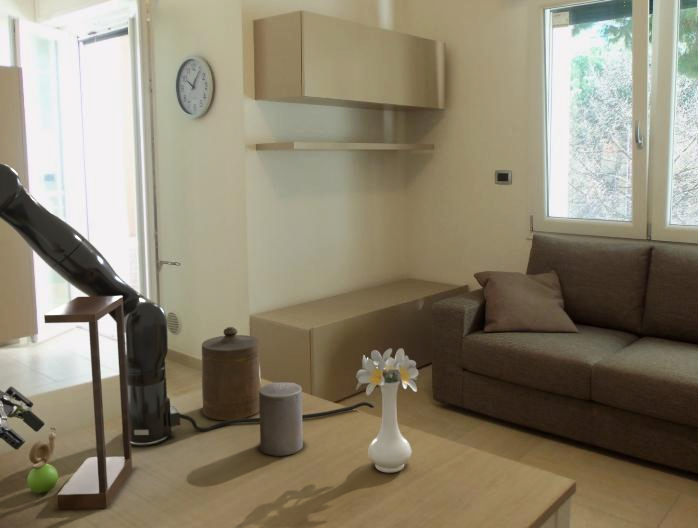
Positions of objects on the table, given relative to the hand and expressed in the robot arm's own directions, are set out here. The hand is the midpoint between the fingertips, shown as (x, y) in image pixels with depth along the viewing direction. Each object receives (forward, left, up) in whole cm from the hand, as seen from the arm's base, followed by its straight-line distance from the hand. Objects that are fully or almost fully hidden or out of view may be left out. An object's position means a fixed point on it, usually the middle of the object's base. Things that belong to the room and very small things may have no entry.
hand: (31, 436), depth 135 cm
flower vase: (-64, +30, -11) cm, 72 cm away
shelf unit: (-10, +6, -11) cm, 16 cm away
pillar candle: (-49, +9, -11) cm, 51 cm away
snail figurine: (-2, +1, -11) cm, 12 cm away
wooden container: (-48, -19, -11) cm, 53 cm away
